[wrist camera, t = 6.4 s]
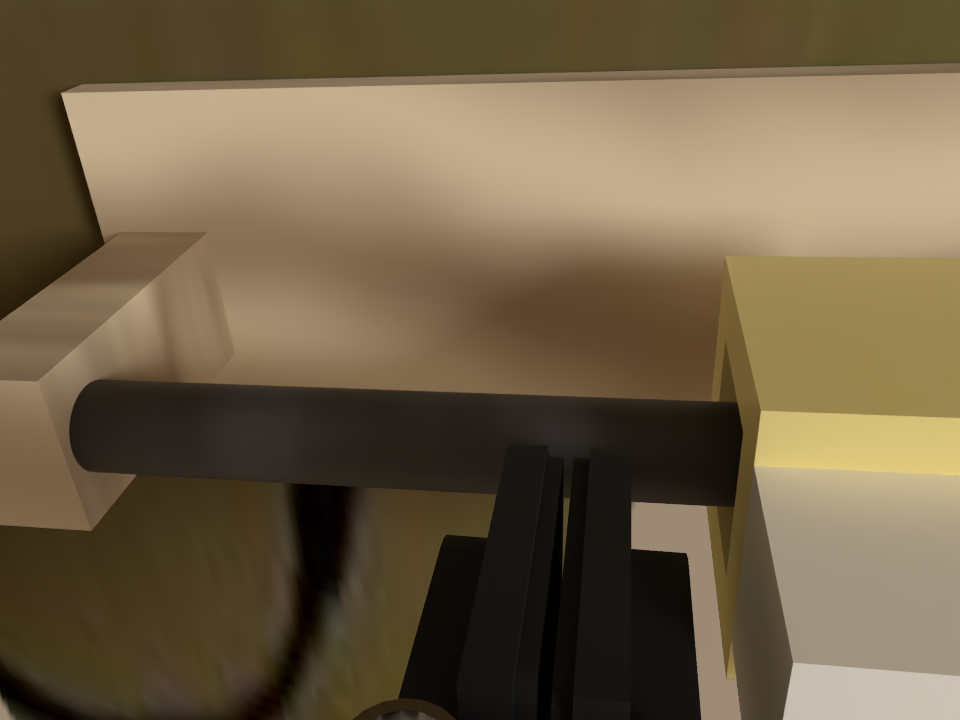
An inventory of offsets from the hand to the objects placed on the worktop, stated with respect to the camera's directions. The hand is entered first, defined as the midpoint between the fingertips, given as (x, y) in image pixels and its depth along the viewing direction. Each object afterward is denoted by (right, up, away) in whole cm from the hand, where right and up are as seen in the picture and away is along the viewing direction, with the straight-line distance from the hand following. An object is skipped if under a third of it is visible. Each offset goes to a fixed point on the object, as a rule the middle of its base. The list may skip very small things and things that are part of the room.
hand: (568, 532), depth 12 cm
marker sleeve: (+5, +2, +3) cm, 6 cm away
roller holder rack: (+1, +4, +7) cm, 8 cm away
